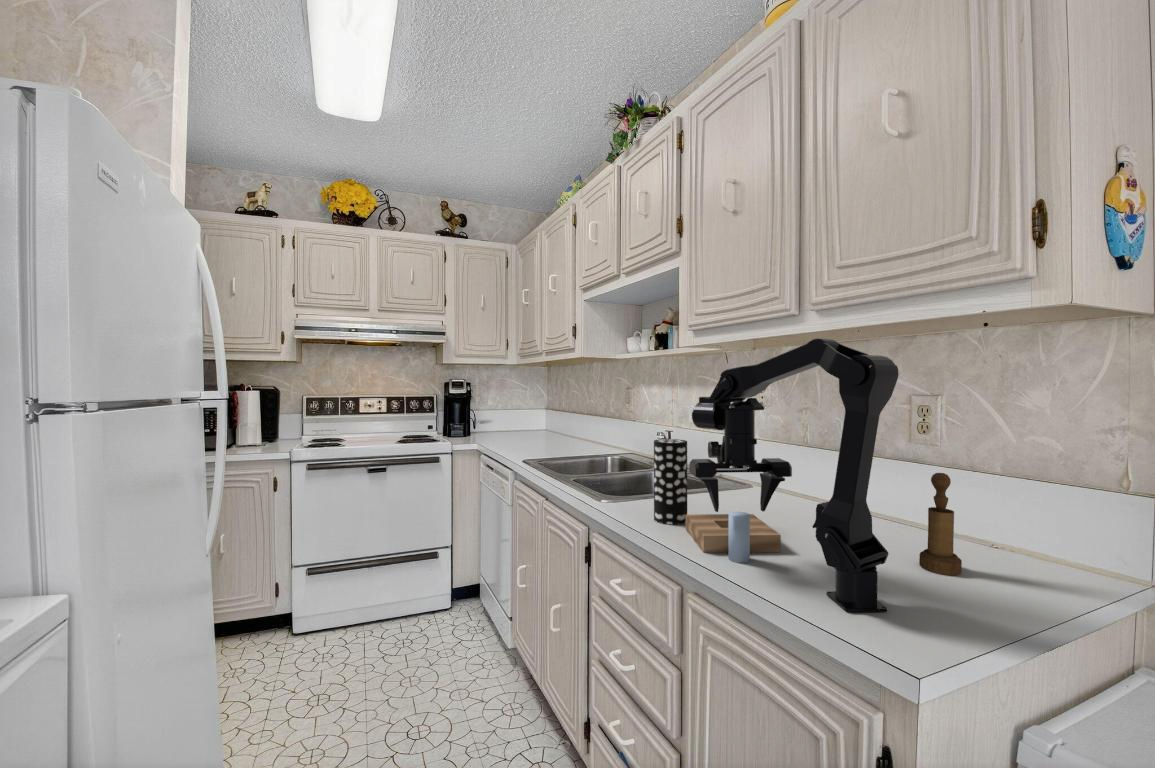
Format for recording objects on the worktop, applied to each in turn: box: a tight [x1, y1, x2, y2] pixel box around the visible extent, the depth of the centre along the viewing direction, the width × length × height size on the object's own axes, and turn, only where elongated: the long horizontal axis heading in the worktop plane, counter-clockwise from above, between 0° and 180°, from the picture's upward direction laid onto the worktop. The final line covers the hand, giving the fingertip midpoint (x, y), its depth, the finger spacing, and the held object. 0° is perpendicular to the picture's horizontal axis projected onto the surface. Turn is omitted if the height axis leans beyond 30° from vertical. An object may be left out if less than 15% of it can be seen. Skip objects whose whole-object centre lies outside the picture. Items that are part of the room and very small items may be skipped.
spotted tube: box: [653, 438, 688, 526], centre depth 129 cm, size 8×8×20 cm
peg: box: [728, 511, 751, 564], centre depth 101 cm, size 4×4×9 cm
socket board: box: [685, 513, 782, 554], centre depth 113 cm, size 16×16×4 cm
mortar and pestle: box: [918, 472, 963, 576], centre depth 96 cm, size 7×6×18 cm
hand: (739, 511), depth 101 cm, fingers open, 9 cm apart
